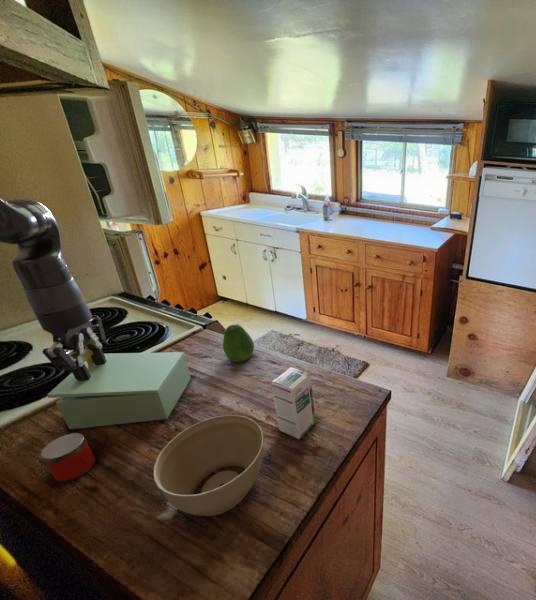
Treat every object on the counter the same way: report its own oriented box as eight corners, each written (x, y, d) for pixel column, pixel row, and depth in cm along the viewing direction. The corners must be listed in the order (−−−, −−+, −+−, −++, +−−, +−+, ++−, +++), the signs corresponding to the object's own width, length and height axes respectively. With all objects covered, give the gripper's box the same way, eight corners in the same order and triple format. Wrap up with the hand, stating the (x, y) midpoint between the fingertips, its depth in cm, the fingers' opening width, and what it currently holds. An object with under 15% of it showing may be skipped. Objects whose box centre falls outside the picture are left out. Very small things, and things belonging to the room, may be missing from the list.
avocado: (220, 364, 93) (212, 327, 88) (242, 350, 100) (235, 315, 95) (241, 371, 90) (233, 334, 85) (262, 357, 97) (256, 322, 92)
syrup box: (299, 442, 70) (293, 389, 63) (278, 433, 72) (270, 380, 66) (316, 424, 74) (311, 373, 68) (296, 415, 76) (290, 365, 70)
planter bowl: (203, 562, 49) (187, 518, 44) (153, 503, 57) (134, 460, 52) (289, 481, 61) (282, 440, 57) (238, 441, 69) (228, 402, 65)
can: (48, 487, 58) (31, 460, 56) (70, 460, 63) (55, 434, 61) (85, 482, 60) (70, 456, 57) (103, 456, 65) (91, 430, 62)
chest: (71, 432, 69) (55, 402, 66) (111, 387, 82) (99, 361, 79) (168, 422, 73) (158, 393, 70) (191, 380, 86) (184, 354, 83)
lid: (48, 397, 65) (39, 377, 63) (94, 356, 78) (88, 338, 76) (158, 393, 70) (153, 373, 68) (184, 354, 83) (181, 337, 80)
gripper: (62, 290, 71) (94, 355, 78) (5, 322, 58) (49, 395, 65) (102, 288, 72) (129, 351, 79) (54, 318, 59) (92, 390, 67)
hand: (92, 371), depth 72 cm, fingers closed on lid, 5 cm apart
